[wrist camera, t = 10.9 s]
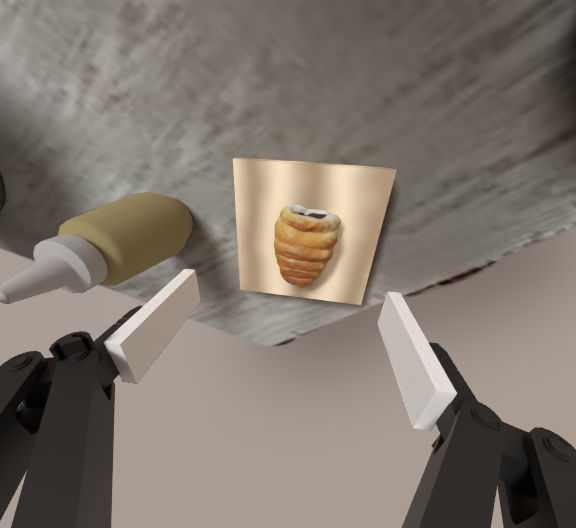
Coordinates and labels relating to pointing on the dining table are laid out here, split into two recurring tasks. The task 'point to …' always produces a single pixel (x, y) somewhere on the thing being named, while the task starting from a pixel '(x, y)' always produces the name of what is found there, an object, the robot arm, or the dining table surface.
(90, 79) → the dining table surface
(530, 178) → the dining table surface
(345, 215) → the serving board
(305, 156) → the dining table surface
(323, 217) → the pastry
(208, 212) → the dining table surface
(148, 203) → the squeeze bottle
